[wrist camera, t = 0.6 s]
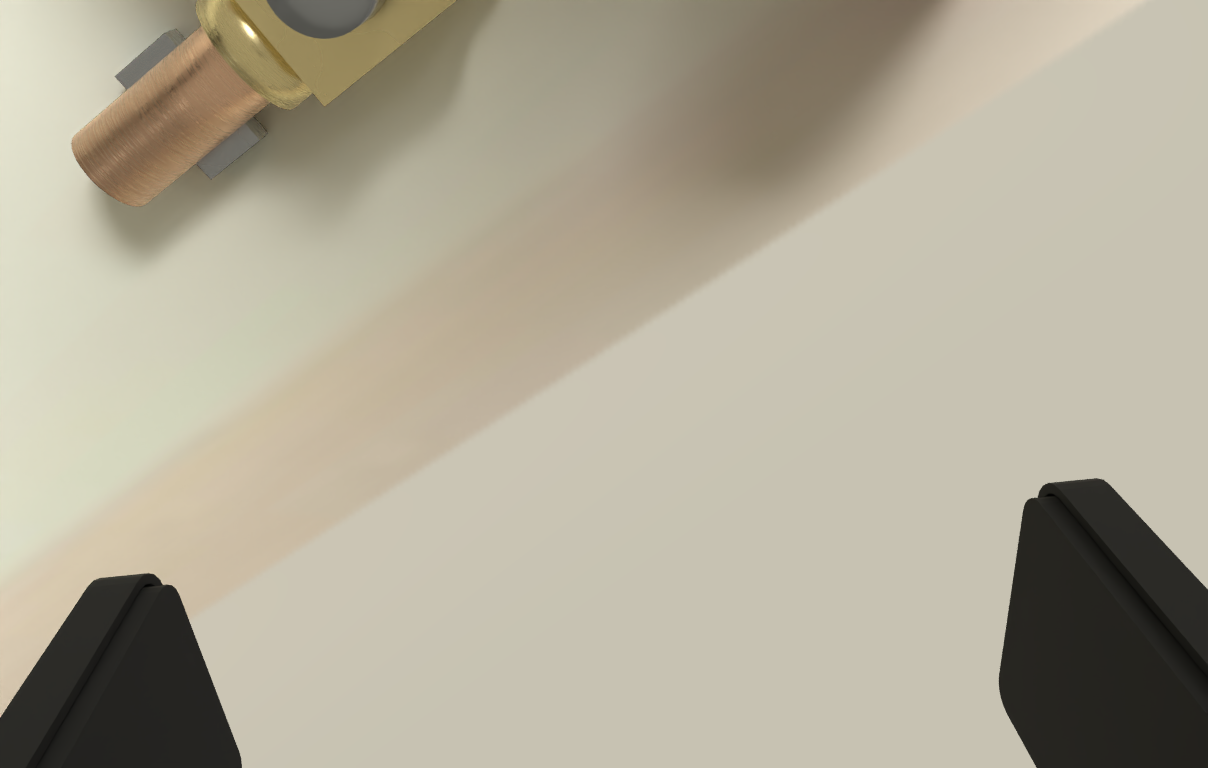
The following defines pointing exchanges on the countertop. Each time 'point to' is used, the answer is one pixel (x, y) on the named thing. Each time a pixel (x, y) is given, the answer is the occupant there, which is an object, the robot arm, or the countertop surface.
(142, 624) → the robot arm
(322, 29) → the lever
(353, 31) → the pipework
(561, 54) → the countertop surface
